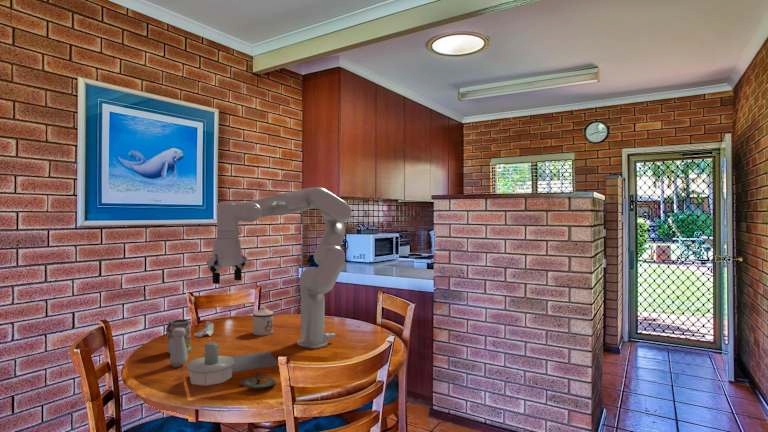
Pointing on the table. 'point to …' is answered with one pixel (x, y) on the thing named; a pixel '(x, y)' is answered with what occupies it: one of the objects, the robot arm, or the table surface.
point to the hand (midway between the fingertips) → (227, 281)
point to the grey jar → (179, 324)
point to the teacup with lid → (263, 322)
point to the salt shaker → (178, 348)
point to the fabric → (206, 329)
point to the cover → (210, 361)
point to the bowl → (210, 377)
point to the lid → (252, 385)
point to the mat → (253, 361)
